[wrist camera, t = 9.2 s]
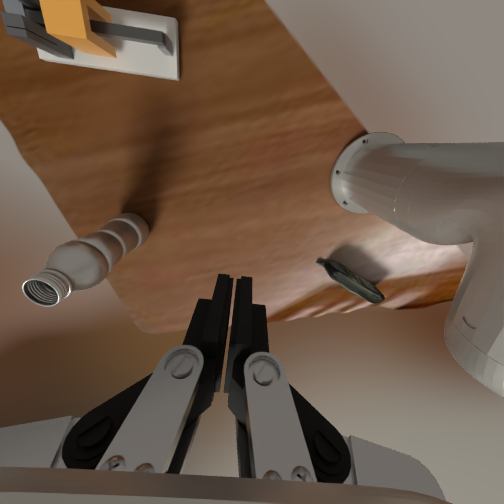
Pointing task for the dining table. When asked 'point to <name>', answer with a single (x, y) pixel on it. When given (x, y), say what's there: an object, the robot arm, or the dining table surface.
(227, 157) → the dining table surface
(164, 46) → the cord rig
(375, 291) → the mobile phone
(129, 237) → the plastic bottle
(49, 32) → the orange bracket
